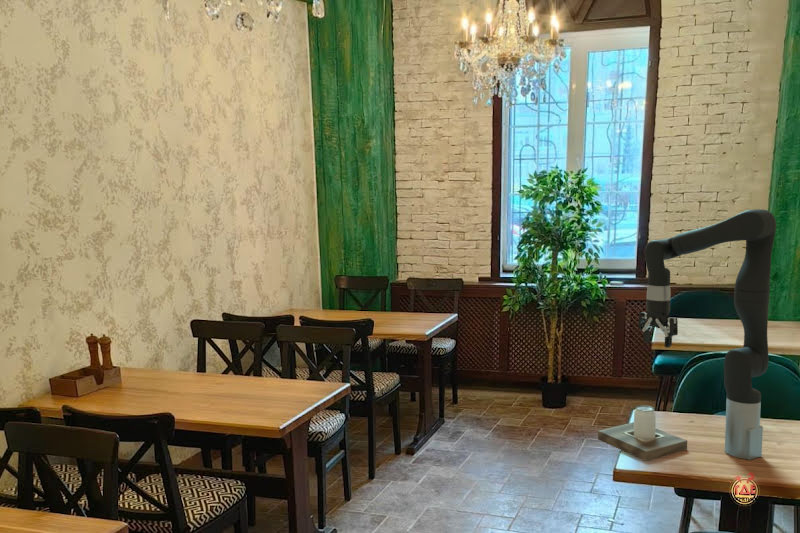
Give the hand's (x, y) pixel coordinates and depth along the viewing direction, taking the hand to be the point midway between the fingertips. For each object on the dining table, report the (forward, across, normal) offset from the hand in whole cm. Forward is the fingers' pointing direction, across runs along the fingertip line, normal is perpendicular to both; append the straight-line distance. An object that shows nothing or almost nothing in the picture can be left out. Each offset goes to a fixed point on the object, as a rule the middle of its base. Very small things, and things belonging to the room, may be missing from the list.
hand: (657, 344), depth 214 cm
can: (+29, -9, +16) cm, 34 cm away
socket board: (+29, -9, +16) cm, 34 cm away
